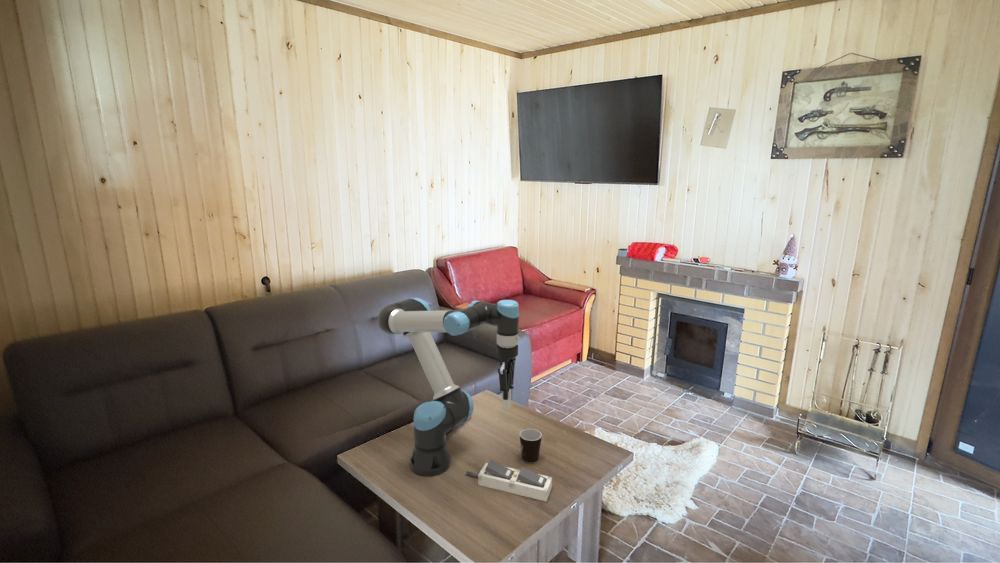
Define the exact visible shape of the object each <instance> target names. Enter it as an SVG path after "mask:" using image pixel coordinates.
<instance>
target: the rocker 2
mask: <svg viewBox="0 0 1000 563" xmlns="http://www.w3.org/2000/svg"><path fill="white" fill-rule="evenodd" d="M520 470H521V471H520V472H519V474H518V477H517V479H518V480H520V481H522V482H524V483H526V484H529V485H533V486H537V487H541V488H542V487H543V485H544V482H545V480H546V478H545V477H543V476H541V475H542V474H540V473H536V472H534V471H532V470H530V469H528V468H526V467H524V466H522V467H521V468H520ZM539 474H540V475H539Z"/></svg>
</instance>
